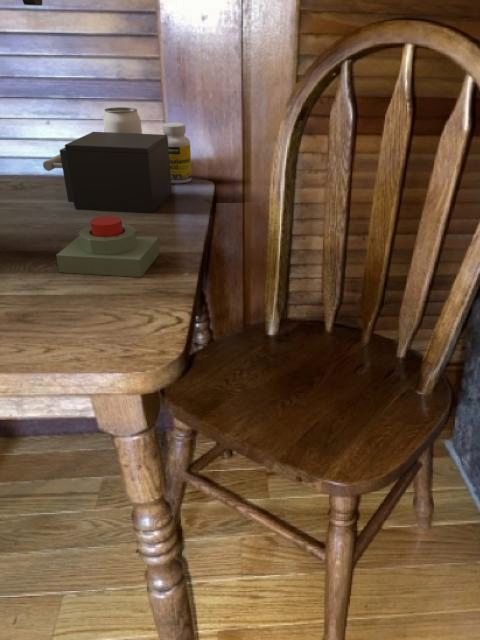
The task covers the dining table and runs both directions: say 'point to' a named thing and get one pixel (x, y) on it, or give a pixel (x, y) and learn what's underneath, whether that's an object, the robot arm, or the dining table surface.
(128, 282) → the dining table surface
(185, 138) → the supplement bottle
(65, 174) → the drawer
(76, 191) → the dark grey storage box
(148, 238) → the control block
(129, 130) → the can
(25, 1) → the robot arm
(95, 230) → the button
